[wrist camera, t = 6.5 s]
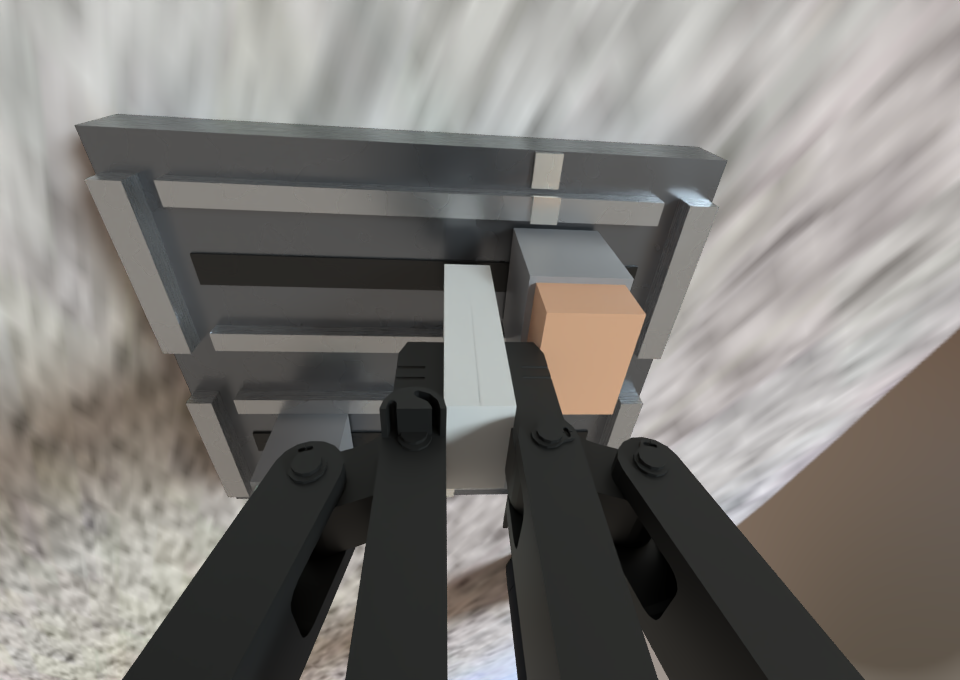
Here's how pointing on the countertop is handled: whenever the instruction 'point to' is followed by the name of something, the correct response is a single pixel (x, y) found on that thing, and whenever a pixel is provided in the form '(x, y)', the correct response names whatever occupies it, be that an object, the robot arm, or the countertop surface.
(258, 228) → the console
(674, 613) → the robot arm
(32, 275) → the countertop surface
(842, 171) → the countertop surface
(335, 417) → the knob
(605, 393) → the knob
